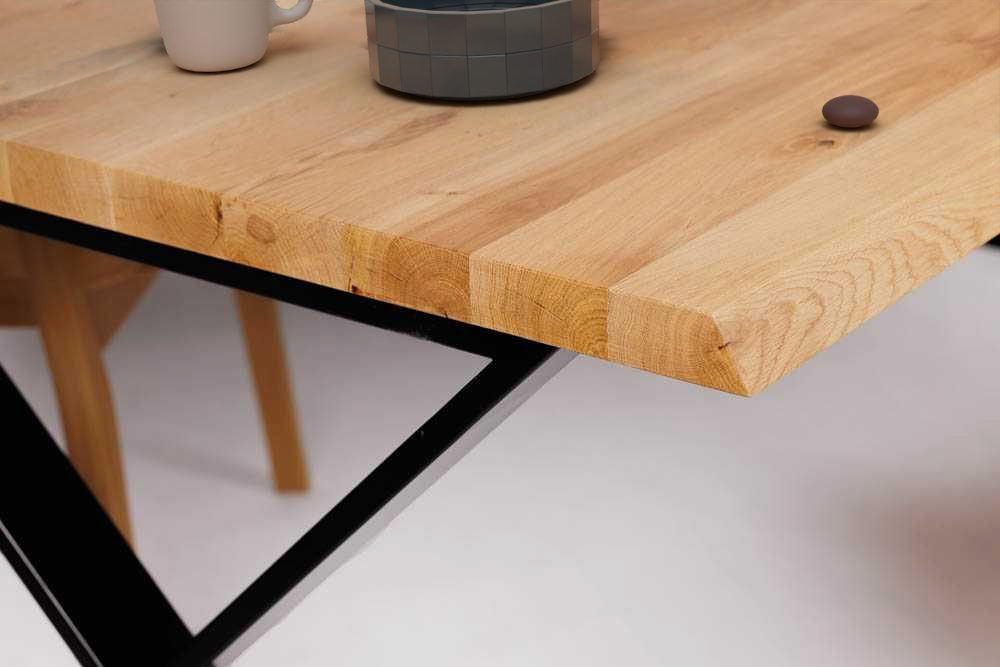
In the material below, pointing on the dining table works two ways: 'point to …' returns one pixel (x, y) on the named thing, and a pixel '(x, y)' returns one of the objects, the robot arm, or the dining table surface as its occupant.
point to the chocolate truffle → (850, 111)
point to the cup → (221, 30)
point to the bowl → (481, 46)
